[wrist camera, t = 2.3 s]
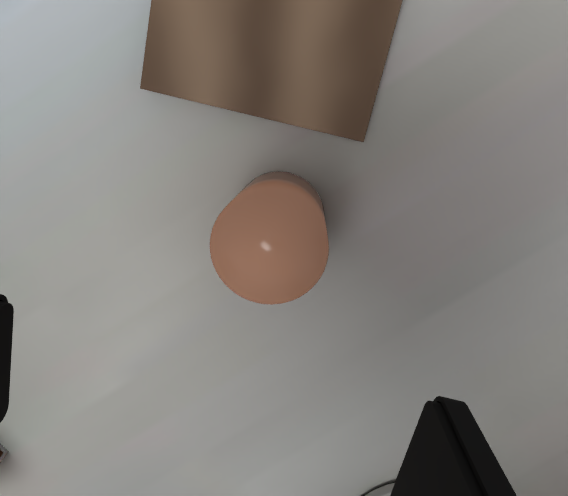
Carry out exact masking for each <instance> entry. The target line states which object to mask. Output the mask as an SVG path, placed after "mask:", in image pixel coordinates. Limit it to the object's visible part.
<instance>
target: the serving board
mask: <svg viewBox="0 0 568 496" xmlns="http://www.w3.org/2000/svg"><path fill="white" fill-rule="evenodd" d="M401 4H402V0H152V1H151V9H150V16H149V24H148V32H147V40H146V47H145V55H144V63H143V71H142V78H141V86H140V88H141V89H145V90H149V91H153V92H157V93H161V94H166V95H170V96H174V97H178V98H182V99H186V100H191V101H195V102H199V103H203V104H207V105H211V106H215V107H220V108H224V109H228V110H232V111H236V112H240V113H245V114H249V115H253V116H257V117H261V118H265V119H269V120H274V121H278V122H282V123H286V124H290V125H294V126H299V127H303V128H307V129H311V130H315V131H319V132H324V133H328V134H332V135H336V136H340V137H344V138H348V139H353V140H357V141H361V142H364V138H365V135H366V131H367V127H368V124H369V120H370V117H371V113H372V109H373V106H374V102H375V98H376V95H377V91H378V88H379V84H380V80H381V77H382V73H383V69H384V66H385V62H386V58H387V55H388V51H389V48H390V44H391V40H392V37H393V33H394V29H395V26H396V22H397V18H398V15H399V11H400V8H401Z"/></svg>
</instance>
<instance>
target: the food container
mask: <svg viewBox="0 0 568 496" xmlns="http://www.w3.org/2000/svg"><path fill="white" fill-rule="evenodd" d="M7 453H8V451H7V450H6V449H5V448H4V447H3V446H2V445H1V444H0V463H1V461H2V460H3V458H4V457H5V456H6V454H7Z"/></svg>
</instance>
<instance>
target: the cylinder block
mask: <svg viewBox="0 0 568 496" xmlns="http://www.w3.org/2000/svg"><path fill="white" fill-rule="evenodd" d="M210 253H211V259H212V262H213V265H214V268H215V270H216V272H217V274H218V275H219V277H220V278H221V280H222V281H223V282H224V283H225V285H226V286H227V287H228V288H230V289H231V290H232V291H233V292H235V293H236V294H237V295H239V296H241V297H243V298H245V299H247V300H249V301H253V302H256V303H261V304H280V303H285V302H289V301H292V300H294V299H296V298H299V297H301V296H302V295H304V294H305V293H307V292H308V291H309V290H310V289H311V288H312V287H313V286H314V285H315V284H316V283H317V282H318V280H319V279H320V277H321V276H322V274H323V272H324V270H325V267H326V264H327V260H328V253H329V244H328V236H327V229H326V222H325V216H324V209H323V204H322V201H321V199H320V197H319V195H318V193H317V191H316V190H315V189H314V187H313V186H312V185H311V184H310V183H309V182H307V181H306V180H305V179H303V178H302V177H300V176H298V175H295V174H292V173H289V172H280V171H277V172H270V173H266V174H263V175H260V176H259V177H257V178H255V179H254V180H252V181H251V182H250V183H249V184H248V185H247V186H246V187H245V188H244V189H243V190H242V191H241V192H240V193H239V194H238V195H237V196H236V197H235V198H234V199H233V200H232V201H231V202H230V203H229V204H228V205H227V206H226V207H225V208H224V209H223V211H222V212H221V213H220V214H219V216H218V218H217V220H216V221H215V224H214V226H213V229H212V233H211V238H210Z"/></svg>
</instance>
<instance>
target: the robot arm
mask: <svg viewBox="0 0 568 496" xmlns="http://www.w3.org/2000/svg"><path fill="white" fill-rule="evenodd" d="M13 312H14V311H13V306H12V304H10V303H8V300H7V298H6V297H5V296H4V295H1V294H0V422H1V421H2V420H3V418H4V417H5V415H6V412H7V410H8V405H9V387H10V368H11V350H12V331H13ZM365 496H516V494H515V492H514V490H513V488H512V487H511V485H510V483H509V481H508V479H507V477H506V476H505V474H504V472H503V470H502V468H501V466H500V465H499V463H498V461H497V459H496V457H495V456H494V454H493V452H492V450H491V448H490V446H489V445H488V443H487V441H486V439H485V437H484V435H483V434H482V432H481V430H480V428H479V426H478V424H477V423H476V421H475V419H474V417H473V415H472V413H471V412H470V410H469V408H468V406H467V405H466V403H465V402H462V401H458V400H454V399H449V398H445V397H441V396H438V397H436V398H435V399H434V401H427V402H426V404H425V406H424V408H423V411H422V413H421V416H420V418H419V421H418V424H417V426H416V429H415V432H414V434H413V437H412V439H411V442H410V445H409V447H408V450H407V452H406V455H405V458H404V460H403V463H402V466H401V468H400V471H399V473H398V476H397V479H396V481H395V483H392V484H388V485H385V486H383V487H380V488H378V489H375V490H373V491H371V492H370V493H368V494H367V495H365Z"/></svg>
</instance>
